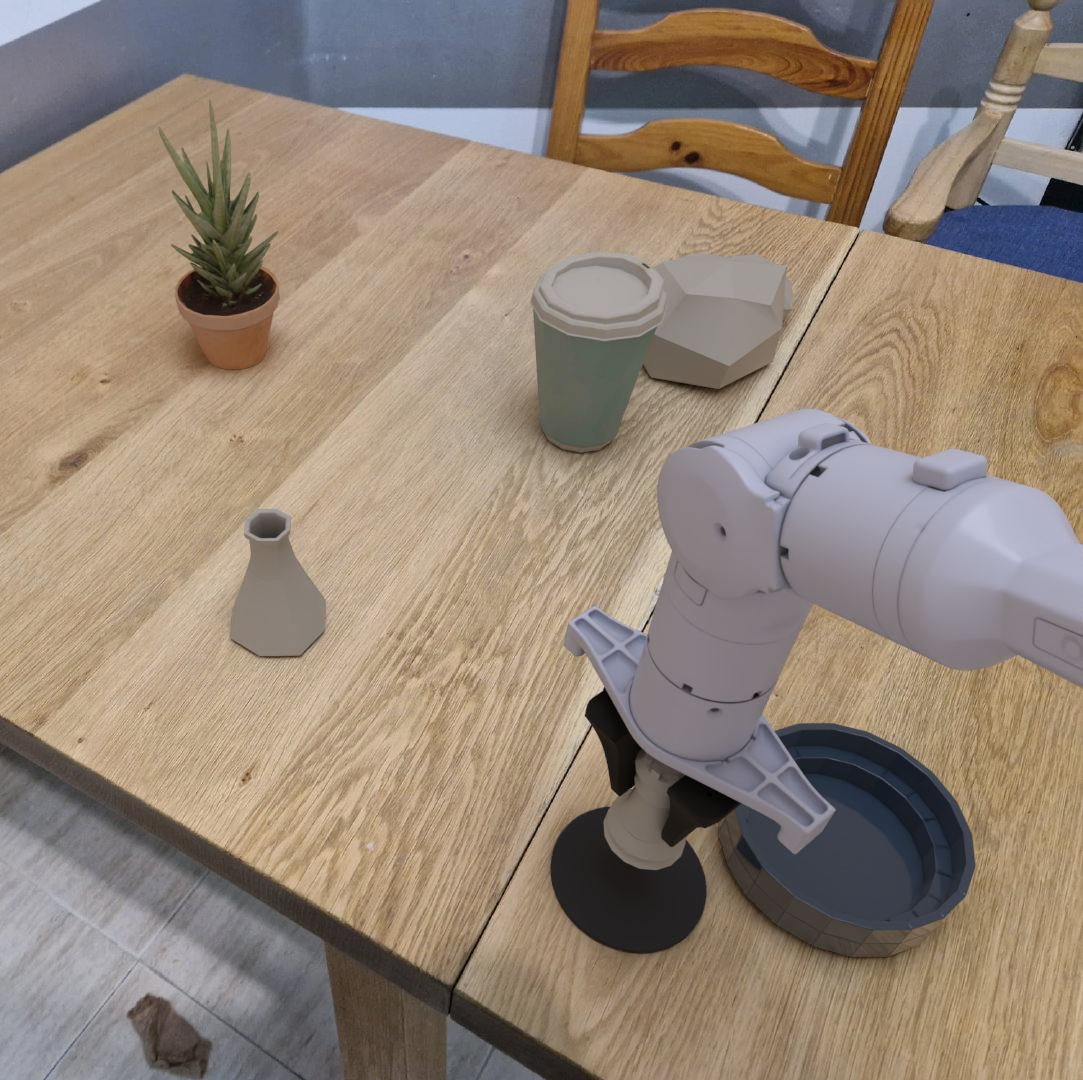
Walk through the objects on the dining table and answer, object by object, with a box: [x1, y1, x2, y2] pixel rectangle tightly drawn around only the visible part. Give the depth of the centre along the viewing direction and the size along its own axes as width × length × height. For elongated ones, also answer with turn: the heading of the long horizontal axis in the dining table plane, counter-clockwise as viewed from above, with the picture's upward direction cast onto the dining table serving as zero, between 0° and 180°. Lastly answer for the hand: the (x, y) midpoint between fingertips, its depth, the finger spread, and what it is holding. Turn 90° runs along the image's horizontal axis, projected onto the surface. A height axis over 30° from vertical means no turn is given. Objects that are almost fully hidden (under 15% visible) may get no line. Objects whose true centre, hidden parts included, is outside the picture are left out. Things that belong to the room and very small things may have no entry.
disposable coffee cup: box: [529, 250, 667, 454], centre depth 83 cm, size 11×11×15 cm
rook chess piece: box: [604, 749, 688, 870], centre depth 53 cm, size 4×4×8 cm
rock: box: [642, 252, 794, 390], centre depth 94 cm, size 18×20×10 cm
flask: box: [229, 508, 327, 657], centre depth 70 cm, size 7×7×10 cm
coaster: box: [550, 806, 707, 954], centre depth 59 cm, size 9×9×1 cm
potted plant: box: [156, 98, 281, 370], centre depth 89 cm, size 10×10×25 cm
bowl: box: [718, 722, 977, 958], centre depth 59 cm, size 13×13×4 cm
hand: (653, 807), depth 54 cm, fingers closed on rook chess piece, 3 cm apart
